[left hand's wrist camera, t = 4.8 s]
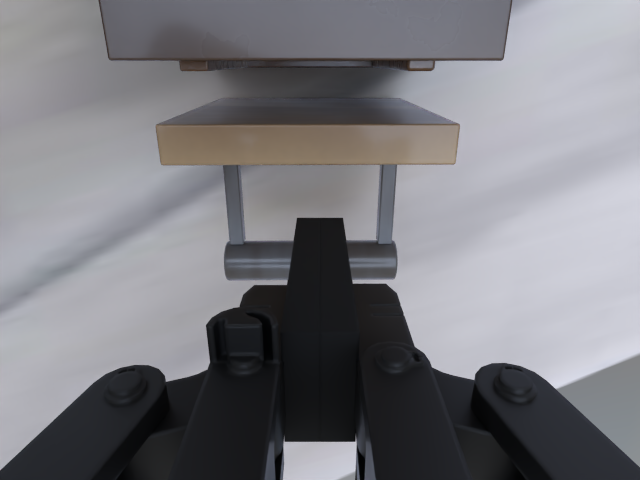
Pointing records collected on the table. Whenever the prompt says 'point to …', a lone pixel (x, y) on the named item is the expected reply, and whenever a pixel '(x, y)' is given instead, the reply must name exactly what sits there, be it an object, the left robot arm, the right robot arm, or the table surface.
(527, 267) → the table surface
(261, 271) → the drawer
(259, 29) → the cabinet
